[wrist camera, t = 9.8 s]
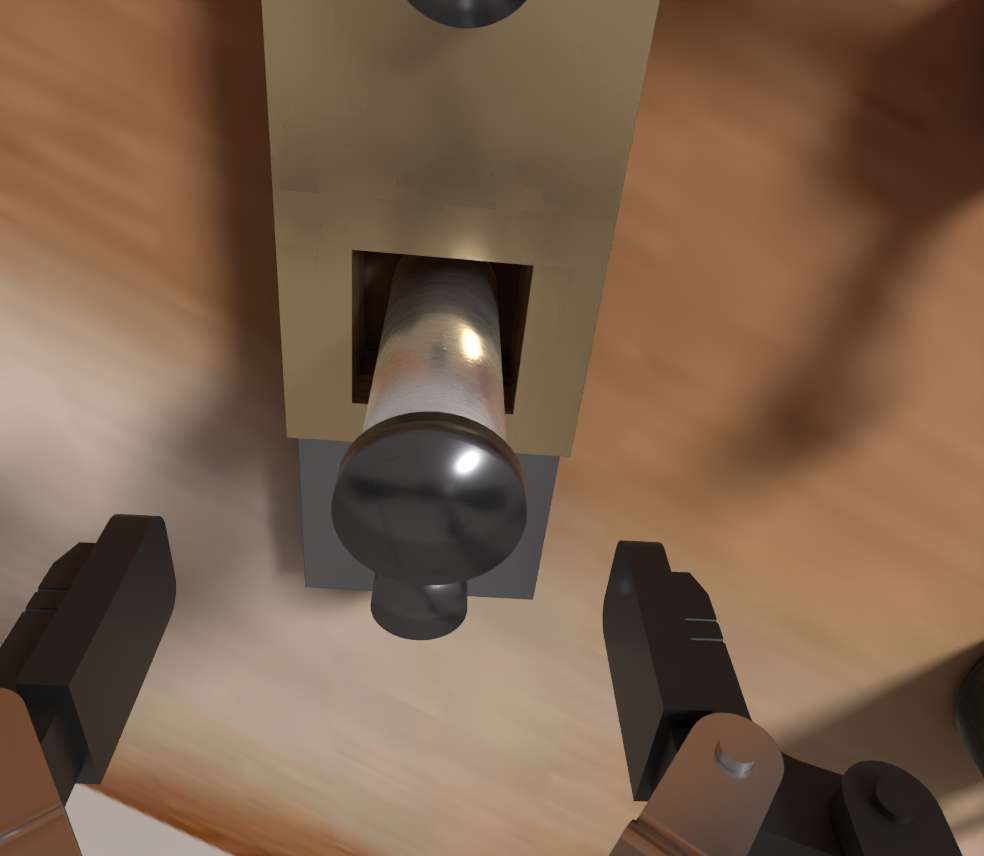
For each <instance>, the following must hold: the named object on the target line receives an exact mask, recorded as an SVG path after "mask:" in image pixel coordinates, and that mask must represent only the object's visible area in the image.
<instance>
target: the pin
mask: <svg viewBox="0 0 984 856" xmlns="http://www.w3.org/2000/svg"><path fill="white" fill-rule="evenodd" d="M331 514H332V521H333V525H334V529H335V531H336V533H337V535H338V538H339V539H340V541H341V543H342V544H343V546H344V547H345V548H346V549H347V551H348V552H349V553H350V554H351V555H352V556H353V557H354V558H355V559H357V560H358V561H359V562H360V563H361V564H363V565H364V566H366V567H367V568H369V569H370V570H372V571H374V572H376V573H378V574H380V575H382V576H385V577H387V578H390V579H393V580H397V581H400V582H404V583H409V584H416V585H448V584H454V583H459V582H463V581H467V580H470V579H473V578H475V577H478V576H480V575H483V574H485V573H486V572H488V571H490V570H492V569H493V568H495V567H496V566H498V565H499V564H501V563H502V562H503V561H504V560H505V559H506V558H507V557H508V556H509V555H510V554H511V553H512V552H513V551H514V549H515V548H516V546H517V545H518V543H519V542H520V540H521V537H522V535H523V533H524V530H525V526H526V520H527V507H526V495H525V484H524V475H523V471H522V468H521V465H520V463H519V460H518V458H517V456H516V455H515V453H514V452H513V450H512V449H511V448H510V446H509V445H508V444H507V443H506V427H505V411H504V394H503V378H502V362H501V345H500V329H499V313H498V296H497V282H496V276H495V272H494V270H493V267H492V265H491V263H490V262H488V261H477V260H465V259H454V258H442V257H430V256H419V255H407V254H404V255H403V256H402V257H401V259H400V260H399V262H398V264H397V266H396V269H395V272H394V276H393V280H392V285H391V290H390V296H389V301H388V306H387V311H386V316H385V321H384V326H383V331H382V336H381V341H380V346H379V351H378V356H377V361H376V366H375V371H374V376H373V381H372V386H371V391H370V396H369V402H368V407H367V412H366V417H365V422H364V427H363V432H362V434H361V435H360V436H359V437H357V438H356V440H355V441H354V442H353V443H352V444H351V445H350V447H349V448H348V450H347V451H346V453H345V454H344V456H343V459H342V461H341V463H340V467H339V471H338V475H337V480H336V484H335V489H334V493H333V497H332V505H331Z"/></svg>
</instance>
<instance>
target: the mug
mask: <svg viewBox="0 0 984 856" xmlns="http://www.w3.org/2000/svg"><path fill="white" fill-rule="evenodd" d="M956 724H957V729H958V731H959V734H960V736H961V738H962V740H963V742H964V743H965V745H966V747H967V749H968V750H969V752H970V754H971V756H972V757H973V759H974V761H975V763H976V764H977V766H978V768H979V770H980V771H981V773H982V775H983V777H984V658H983V659H982V660H981V661H980V662H979V663H978V664H977V665H976V667H975V668H974V669H973V670H972V671H971V672H970V674H969V675H968V677H967V678H966V680H965V681H964V683H963V685H962V688H961V690H960V692H959V696H958V702H957V709H956Z"/></svg>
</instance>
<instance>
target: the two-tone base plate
mask: <svg viewBox="0 0 984 856" xmlns="http://www.w3.org/2000/svg"><path fill="white" fill-rule="evenodd" d="M659 1H660V0H262V17H263V34H264V51H265V68H266V86H267V103H268V120H269V137H270V154H271V172H272V189H273V206H274V223H275V241H276V258H277V275H278V292H279V310H280V327H281V344H282V361H283V378H284V396H285V413H286V430H287V437H289V438H298V444H299V465H300V485H301V506H302V527H303V548H304V569H305V587H315V588H333V589H352V590H370V591H373V592H372V599H371V612H372V615H373V617H374V619H375V620H376V622H377V623H378V624H379V625H380V626H381V627H382V628H383V629H385V630H386V631H388V632H389V633H391V634H393V635H396V636H398V637H402V638H405V639H411V640H430V639H435V638H439V637H442V636H445V635H447V634H449V633H451V632H452V631H454V630H455V629H457V628H458V627H459V626H460V625H461V623H462V622H463V621H464V619H465V617H466V613H467V596H478V597H496V598H514V599H532V600H533V597H534V591H535V586H536V580H537V575H538V570H539V564H540V559H541V554H542V548H543V543H544V538H545V532H546V527H547V522H548V516H549V511H550V505H551V500H552V495H553V489H554V484H555V479H556V473H557V468H558V463H559V457H560V456H564V457H570V455H571V450H572V445H573V440H574V435H575V430H576V425H577V419H578V414H579V409H580V404H581V399H582V394H583V389H584V384H585V379H586V374H587V368H588V363H589V358H590V353H591V348H592V343H593V338H594V333H595V328H596V323H597V317H598V312H599V307H600V302H601V297H602V292H603V287H604V282H605V277H606V272H607V266H608V261H609V256H610V251H611V246H612V241H613V236H614V231H615V226H616V221H617V216H618V210H619V205H620V200H621V195H622V190H623V185H624V180H625V175H626V170H627V165H628V159H629V154H630V149H631V144H632V139H633V134H634V129H635V124H636V119H637V114H638V108H639V103H640V98H641V93H642V88H643V83H644V78H645V73H646V68H647V63H648V57H649V52H650V47H651V42H652V37H653V32H654V27H655V22H656V17H657V12H658V6H659ZM365 251H373V252H384V253H396V254H407V255H419V256H430V257H442V258H454V259H465V260H477V261H488V262H500V263H511V264H521V271H520V278H519V286H518V294H517V302H516V309H515V317H514V325H513V332H512V340H511V348H510V356H509V360H501V362H502V378H503V394H504V411H505V427H506V443H507V444H508V445H509V446H510V448H511V449H512V450H513V452H514V453H515V455H516V456H517V458H518V460H519V463H520V465H521V468H522V471H523V475H524V484H525V495H526V507H527V520H526V526H525V530H524V533H523V535H522V537H521V540H520V542H519V543H518V545H517V546H516V548H515V549H514V551H513V552H512V553H511V554H510V555H509V556H508V557H507V558H506V559H505V560H504V561H503V562H502V563H501V564H499V565H498V566H496V567H495V568H493V569H492V570H490V571H488V572H486V573H485V574H483V575H480V576H478V577H475V578H473V579H470V580H467V581H463V582H459V583H454V584H448V585H416V584H409V583H404V582H400V581H397V580H393V579H390V578H387V577H385V576H382V575H380V574H378V573H376V572H374V571H372V570H370V569H369V568H367V567H366V566H364V565H363V564H361V563H360V562H359V561H358V560H357V559H355V558H354V557H353V556H352V555H351V554H350V553H349V552H348V551H347V549H346V548H345V547H344V546H343V544H342V543H341V541H340V539H339V538H338V535H337V533H336V531H335V529H334V525H333V521H332V514H331V505H332V497H333V493H334V489H335V484H336V480H337V475H338V471H339V467H340V463H341V461H342V459H343V456H344V454H345V453H346V451H347V450H348V448H349V447H350V445H351V444H352V443H353V442H354V441H355V440H356V438H357V437H359V436H360V435H361V434H362V432H363V427H364V422H365V417H366V412H367V407H368V402H369V396H370V391H371V386H372V381H373V376H374V371H375V366H376V361H377V356H378V351H379V350H370V349H364V340H365Z"/></svg>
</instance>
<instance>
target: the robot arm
mask: <svg viewBox="0 0 984 856" xmlns="http://www.w3.org/2000/svg"><path fill="white" fill-rule="evenodd" d="M175 596H176V579H175V573H174V568H173V563H172V557H171V552H170V547H169V541H168V536H167V531H166V526H165V522H164V520H163V518H162V517H160V516H145V515H125V514H115V515H114V516H112V517H111V519H110V520H109V522H108V523H107V525H106V527H105V528H104V530H103V532H102V534H101V535H100V537H99V539H98V541H97V542H96V543H81V542H79V543H78V544H77V545H76V546H74V547H73V548H72V549H71V550H69V551H68V552H67V553H66V554H64V555H63V556H62V557H61V558H59V559H58V560H57V561H56V562H54V563H53V565H52V566H51V568H50V569H49V571H48V573H47V574H46V576H45V577H44V579H43V581H42V582H41V584H40V585H39V587H38V592H35V593H34V595H33V597H32V598H31V600H30V601H29V603H28V605H27V606H26V611H25V612H23V613H22V614H21V616H20V617H19V619H18V620H17V622H16V624H15V625H14V627H13V628H12V630H11V632H10V633H9V635H8V636H7V638H6V640H5V641H4V643H3V644H2V646H1V648H0V856H82V854H81V851H80V848H79V846H78V843H77V840H76V837H75V835H74V832H73V829H72V826H71V824H70V821H69V818H68V815H67V813H66V810H65V805H66V803H67V801H68V798H69V796H70V794H71V791H72V789H73V787H74V785H75V783H79V784H101V782H102V780H103V777H104V775H105V773H106V770H107V768H108V765H109V763H110V761H111V758H112V756H113V753H114V751H115V749H116V746H117V744H118V741H119V739H120V737H121V734H122V732H123V729H124V727H125V725H126V722H127V720H128V717H129V715H130V713H131V710H132V708H133V706H134V703H135V701H136V698H137V696H138V694H139V691H140V689H141V686H142V684H143V682H144V679H145V677H146V674H147V672H148V670H149V667H150V665H151V662H152V660H153V658H154V655H155V653H156V650H157V648H158V646H159V643H160V641H161V638H162V636H163V634H164V631H165V629H166V627H167V624H168V622H169V619H170V617H171V614H172V611H173V607H174V603H175ZM716 619H717V618H716V616H715V613H714V610H713V607H712V604H711V601H710V598H709V595H708V594H707V592H706V591H705V590H704V589H703V588H702V587H701V585H700V584H699V583H698V582H697V581H696V580H695V578H694V577H693V576H692V575H691V574H690V573H686V572H671V569H670V566H669V563H668V559H667V556H666V553H665V549H664V547H663V545H662V544H661V543H660V542H642V541H619V542H618V544H617V547H616V551H615V555H614V560H613V564H612V568H611V573H610V577H609V581H608V586H607V590H606V594H605V599H604V605H603V633H604V639H605V644H606V650H607V656H608V661H609V667H610V672H611V678H612V683H613V689H614V694H615V700H616V705H617V711H618V716H619V722H620V727H621V733H622V738H623V744H624V749H625V755H626V760H627V766H628V771H629V777H630V782H631V788H632V793H633V799H634V801H648V803H647V804H646V806H645V808H644V809H643V811H642V812H641V814H640V816H639V817H638V818H637V820H636V821H635V820H632V821H631V822H630V823H629V824H628V826H627V827H626V828H625V830H624V831H623V833H622V835H621V836H620V838H619V839H618V841H617V843H616V844H615V846H614V848H613V849H612V851H611V853H610V854H609V856H962V854H961V851H960V849H959V847H958V845H957V843H956V840H955V838H954V836H953V834H952V832H951V830H950V827H949V825H948V823H947V821H946V819H945V816H944V814H943V812H942V810H941V808H940V806H939V804H938V802H937V801H936V799H935V798H934V796H933V795H932V794H931V792H930V791H929V790H928V789H927V788H926V787H925V786H924V785H923V784H922V783H921V782H920V781H919V780H917V779H916V778H915V777H913V776H912V775H911V774H909V773H908V772H906V771H904V770H902V769H901V768H898V767H896V766H894V765H891V764H888V763H885V762H880V761H863V762H859V763H857V764H854V765H853V766H851V767H850V768H849V769H848V770H847V772H846V773H845V775H844V776H843V775H840V774H837V773H834V772H831V771H828V770H825V769H822V768H819V767H816V766H813V765H810V764H807V763H804V762H801V761H799V760H796V759H794V758H792V757H790V756H788V755H786V754H784V753H783V752H781V751H780V750H779V748H778V746H777V744H776V743H775V741H774V740H773V738H772V737H771V736H770V735H769V734H768V733H767V732H766V731H765V730H764V729H763V728H761V727H760V726H759V725H757V724H756V723H754V722H753V721H752V719H751V717H750V715H749V712H748V709H747V706H746V703H745V700H744V697H743V694H742V691H741V689H740V686H739V683H738V680H737V677H736V674H735V671H734V668H733V665H732V662H731V659H730V656H729V654H728V651H727V648H726V645H725V643H723V636H722V633H721V630H720V627H719V624H718V623H716Z"/></svg>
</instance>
